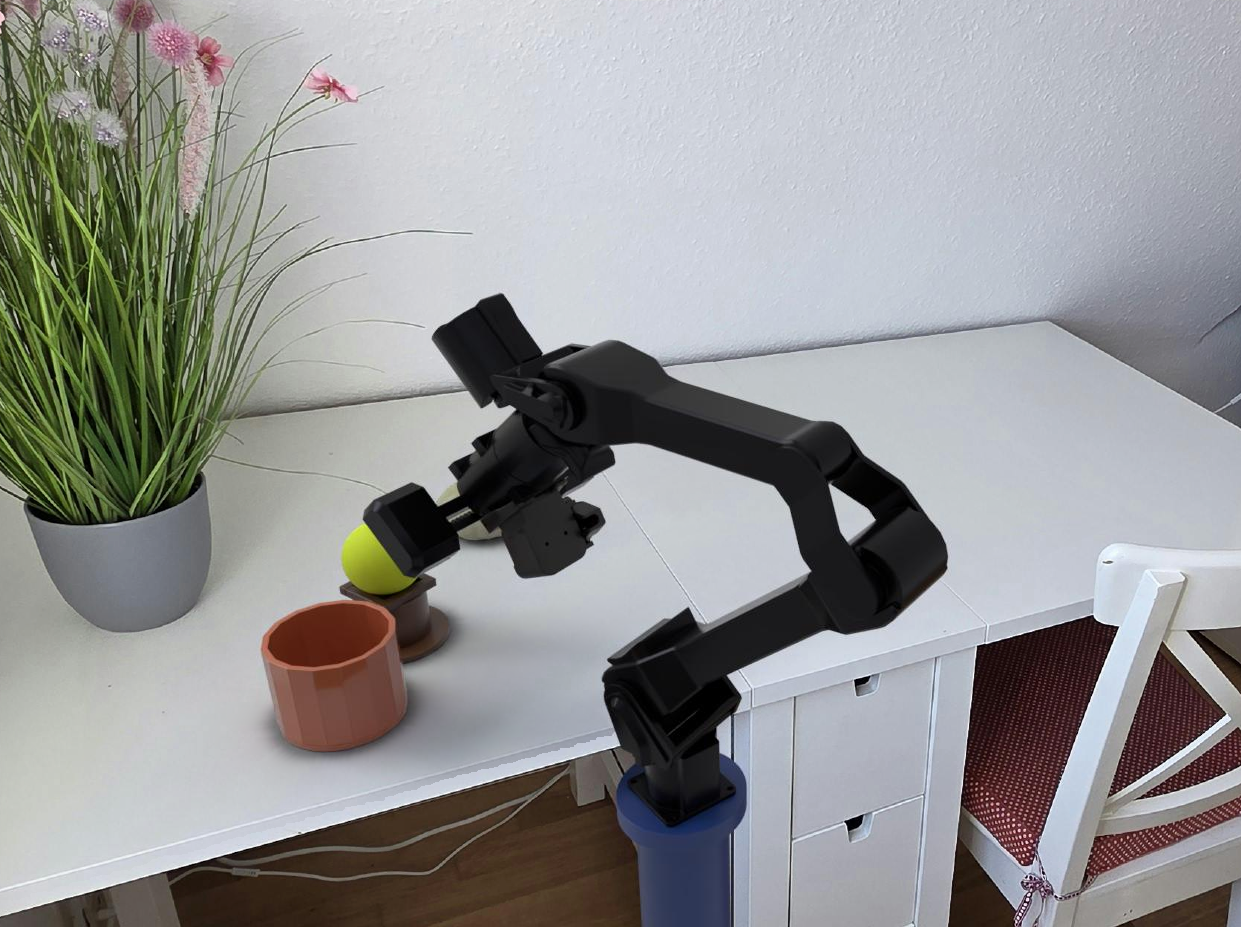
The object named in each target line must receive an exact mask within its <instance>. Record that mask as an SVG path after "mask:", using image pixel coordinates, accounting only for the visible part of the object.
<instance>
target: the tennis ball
mask: <svg viewBox="0 0 1241 927" xmlns="http://www.w3.org/2000/svg"><path fill="white" fill-rule="evenodd" d="M340 556H341V557H340V558H341V566H342V569H343V572H344V574H345V576H346V577H347V579H348V581H351V582H352V583H353V584H354V585H355V586H356V587H358V588H359V589H361V590H363V591H365V592H368V593H371V594H377V595H387V594H393V593H396V592H399V591H401V590H403V589H405V588H407V587H408V586H409V585H411V584H412V583H413V582H414V581H415V580H416V579H417V577H416V578H411V577H407V576H404V575H403V574H402V573H401V571H400V570H399V569H398V567H397V566H396V564H395V563H394V562H393V560H392V559H391V558H390V556H389V555H388V554H387V552H386V551H385V549H384V548H383V547H382V545H381V544H380V543H379V541H378V540H377V539H376V537H375V536H374V534H373V533H372V532H371V530H370V529H369V528H368V526H367V525H366V524H365V523H363V524H361V525H359V526H358V527H357V528H355V529H354V530H352V532H351V533H350V534H349V535H348V536H347V538H346V540H345V541H344V544H343V546H342V549H341V555H340Z"/></svg>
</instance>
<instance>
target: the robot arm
mask: <svg viewBox="0 0 1241 927" xmlns="http://www.w3.org/2000/svg"><path fill="white" fill-rule="evenodd" d="M519 318H520V317H518V315H517V313H516V311H515V309H514V307H513V306H512V304H511V302H510V301H509V300H508V298H507V297H506V295H505V294H504V293H503V292H498V293H496V294H492V295H490V296H487V297H484V298H481V299H479V301H478V302H477V303H476V304H475V305H474V306H472V307H471V308H469V309H467V310H465V311H464V312H461V313H460V314H459V315H457V316H455V317H454V318H453V319H451V320H450V321H448V322H446V323H444V324H441V325H440V326H438V327H437V328H436V330H434V332H433V333H432V334H431V341H432V342H433V344H434V345H435V347H436V348H437V349H438V351H439V352H440V353H441V355H442V357H443V358H444V360H446V362H447V364H448V365H449V366H450V367H451V369H452V371H454V373H455V375H456V377H458V379H459V380H460V382H461V383H462V385H463V386H464V387H465V389H466V390H467V392H468V393H469V394H470V396H471V398H473V400H474V401H475V403H476V404H477V406H478V407H479V408H480V409H481V410H482V409H484V408H486V407H488V406H489V405H490V404H492V403H494V405H495V406H496V408H497V409H503V408H504V409H505V408H507V407H509V406H510V407H512V408H514V411H512V412H511V414H510V415H508V417H506V418H505V419H504V421H502V423H501V424H500V425H499V426H498V427H496V428H494V429H492V430H489V431H487V432H485V433H483V434H481V435H479V436H476V437H475V439H473V441H472V442H471V443H470V444H471V446H472V447H473V449H474V452H471V453H468V454H467V455H465V456H463V457H460V458H458V459H456V460H454V461H452V463H450V464H449V465H448V467H447V469H448V470H449V471H450V473H451V474H452V475H453V477H454V478H455V479H456V482H457V481H458V482H457V489H458V492H459V495H460V496H458V497H456V498H454V499H452V500H450V501H448V502H446V503H444V504H442V505H440V506H437V502H436V501H435V500H434V499H433V497H432V496H431V494H430V493H429V492H428V490H427V489H426V487H425V486H423V485H420V484H418V483H415V482H409V483H406V484H404V485H402V486H400V487H398V488H395V489H394V490H391V491H389V492H387V493H385V494H382V495H381V496H379V497H377V498H374V499H373V500H372V501H371V502H370V503H369V504H368V506H366V507H365V509H364V510H363V515H362V521H363V522H364V524H366V525H367V526H368V528H369V529H370V530H371V532H372V533H373V534H374V536H375V537H376V539H377V540H378V541H379V543H380V544H381V545H382V547H383V548H384V549H385V551H386V552H387V554H388V555H389V556H390V558H391V559H392V560H393V562H394V563H395V564H396V566H397V567H398V569H399V570H400V571H401V573H402V574H403V575H404V576H407V577H411V578H416V577H418V576H420V575H422V574H423V573H425V574H426V573H428V572H429V571H431V570H432V569H434V568H436V567H438V566H440V565H442V564H443V563H445V562H447V561H448V560H450V559H451V558H453V557H454V556H455V555H456V554H458V553H459V552H460V550H461V543H460V537H459V535H458V532H460V531H461V530H463V529H465V528H467V527H469V526H471V525H473V524H475V523H477V522H479V521H481V523H482V524H483V526H484V527H485V528H486V530H487V531H488V533H489V534H490V533H492V532H494V531H496V530H498V529H499V528H500V529H501V535H502V536H501V538H502V541H503V544H504V545H505V547H506V550H507V552H508V554H509V556H510V559H511V561H512V563H513V569H514V572H515V573H516V575H517V576H518V577H519V578H520V579H524V580H528V579H535V578H544V577H550V576H551V577H552V576H555V575H557V574H558V573H560V572H561V571H563V570H565V569H567V568H568V567H570V566H571V565H573V564H575V563H576V562H578V561H580V560H581V559H583V558H584V557H585V555H586V553H587V550H589V549H590V548H591V547H594V545H595V544H594V542H593V540H591V539H592V537H593V536H595V535H597V534H598V533H599V532H600V531H601V529H602V528H603V527H604V526H605V525H606V523H607V521H606V518H605V516H604V514H603V511H602V509H601V507H600V506H596V505H594V504H591V503H589V502H586V501H584V500H581V501H580V500H579V501H576V500H575V499H572V498H571V497H570V496H569V495H571V494H572V493H574V492H576V491H578V490H579V489H581V488H583V487H585V486H586V485H587V484H588V483H589V482H590V481H592V480H593V479H594V478H595V476H598V475H599V474H601V473H603V472H605V471H607V470H608V469H611V468H612V467H614V466H615V465H616V456H615V452H614V450H613V449H612V446H624V445H631V444H632V445H633V444H634V445H635V444H638V445H646V446H650V447H654V448H657V449H660V450H663V451H666V452H669V453H672V454H675V455H679V456H680V457H684V458H687V459H689V460H693V461H696V462H699V463H703V464H705V465H709V466H712V467H715V468H717V469H720V470H724V471H727V472H730V473H732V474H736V475H739V476H742V477H745V478H748V479H750V480H754V481H757V482H760V483H763V484H765V485H769V486H772V487H774V489H775V490H776V491H777V492H778V494H779V495H780V497H781V499H782V500H783V501H784V503H785V504H786V505H787V507H788V508H789V513H790V517H791V520H792V525H793V529H794V533H795V537H796V542H797V545H798V550H799V554H800V557H801V559H802V561H804V564H805V565H806V566H807V567H808V569H809V572H807V573H805V574H802V575H801V576H799V577H797V578H794V579H793V580H791V581H789V582H787V583H785V584H783V585H781V586H779V587H777V588H776V589H773V590H771V591H769V592H768V593H765V594H764V595H762V596H759V597H758V598H756V599H754V600H752V601H750V602H748V603H746V604H744V605H742V606H740V607H738V608H736V609H734V610H732V611H730V612H728V613H726V614H723V616H721V617H718V618H717V619H714V620H712V621H710V622H709V623H703V622H700V621H697V620H696V618H695V616H694V614H693V612H692V609H691V608H690V607H689V606H687V607H685V609H683V610H682V611H680V612H678V613H677V614H676V615H674V616H673V617H672V618H669V617H668V618H667V617H666V618H662V619H661V620H659V621H658V622H656V623H655V624H654V625H652V626H651V627H649V629H647V630H646V631H644V632H642V633H641V634H639V636H637V637H636V638H634V639H633V640H630V642H629V643H626V645H624V646H622V647H621V648H620V649H619V650H617V651H616V652H614V653H612V654H611V655H610V656H609V657H607V658H606V661H607V663H608V664H610V665H611V666H609V667H607V668H606V670H604V671H603V673H602V675H601V682H602V683H603V689H604V691H603V701H604V705H605V708H606V710H607V713H608V716H609V718H610V722H611V725H612V727H613V730H614V732H615V735H616V738H617V740H618V743H619V746H620V748H621V749H622V751H625V752H627V753H628V754H631V755H632V757H633V758H634V764H637V765H639V766H641V767H642V766H643V767H644V772H642V773H640V774H638V775H636V776H634V777H632V778H630V779H629V780H628V782H627V784H628V788H629V789H630V790H631V791H632V792H633V793H634V794H635V795H636V796H637V797H638V798H639V799H640V800H641V801H642V802H643V803H644V804H645V805H646V806H647V807H648V808H649V809H650V810H651V812H652V813H653V814H654V815H655V816H656V817H657V818H658V819H659V820H660V821H661V822H662V823H663V824H664V825H665V826H666V827H669V828H673V827H675V826H677V825H679V824H681V823H683V822H685V821H687V820H689V819H691V818H692V817H694V816H696V815H698V814H700V813H702V812H704V811H706V810H708V809H710V808H711V807H713V806H715V805H717V804H719V803H721V802H723V801H725V800H727V799H728V798H730V797H732V796H734V795H735V794H736V787H735V785H734V784H732V783H731V782H730V781H729V780H728V779H727V778H726V777H725V776H724V775H723V774H722V773H721V772H720V753H721V752H720V740H719V739H718V726H720V725H721V724H722V723H723V722H725V721H726V720H727V719H728V718H729V717H731V716H734V714H736V713H737V711H738V708H739V706H740V704H741V702H742V700H743V696H742V694H741V693H740V691H739V690H738V689H737V687H736V686H735V684H734V683H733V682H732V681H731V680H732V679H730V677H729V675H730V674H733V673H735V672H737V671H740V670H741V669H744V668H746V667H748V666H750V665H752V664H754V663H757V662H759V661H761V660H763V659H766V658H767V657H770V656H772V655H774V654H777V653H779V652H780V651H783V650H785V649H787V648H790V647H791V646H794V645H796V644H799V643H801V642H803V641H805V640H807V639H809V638H811V637H813V636H816V635H818V634H820V633H823V632H826V631H830V632H834V633H836V634H837V633H838V634H840V635H845V636H849V635H853V634H860V633H865V632H869V631H874V630H880V629H883V628H885V627H887V626H889V625H890V624H892V623H893V622H894V621H895V620H896V619H897V618H899V617H900V616H901V615H902V614H903V613H904V612H905V611H906V610H907V609H908V608H909V607H910V606H912V605H913V604H914V603H915V602H916V601H917V600H918V599H919V598H920V597H921V596H923V595H924V593H925V592H927V591H928V590H929V589H930V588H931V587H932V586H934V584H936V583H937V582H938V581H939V580H940V579H941V578H943V576H944V575H945V574H946V573H947V571H948V562H949V553H948V546H947V543H946V541H945V539H944V537H943V534H942V532H941V531H940V530H939V528H938V527H937V526H936V524H935V523H934V522H933V521H932V520H931V519H930V517H929V516H928V515H927V513H926V511H925V510H924V508H923V507H922V506H921V504H920V503H919V501H918V500H917V498H916V497H915V496H914V494H913V493H912V492H911V490H910V489H909V488H908V486H907V485H906V483H904V482H903V481H902V479H899V478H898V477H897V476H896V475H894V474H893V473H891V472H890V471H888V470H887V469H886V468H884V467H883V466H881V465H880V464H878V463H876V462H875V461H874V460H872V459H870V458H869V457H868V456H867V455H865V454H864V453H863V451H862V450H861V448H860V446H858V444H857V443H856V441H855V440H854V438H853V437H852V436H851V434H850V433H849V432H848V431H847V430H846V429H845V428H844V426H842V425H840V424H838V423H837V422H835V421H833V420H812V419H807V418H804V417H802V416H799V415H795V414H791V413H787V412H785V411H782V410H778V409H774V408H771V407H768V406H764V405H761V404H758V403H754V402H751V401H748V400H744V399H741V398H739V397H734V396H731V395H727V394H724V393H721V392H717V391H715V390H711V389H707V388H705V387H701V386H698V385H695V384H692V383H688V382H684V381H681V380H679V379H677V378H675V377H673V376H671V375H669V374H668V373H667V371H666V370H665V368H664V367H663V365H662V364H661V363H660V360H659V361H658V359H656V358H655V357H654V356H652V355H650V354H648V353H646V352H644V351H642V350H640V349H638V348H636V347H634V346H632V345H630V344H628V343H626V342H624V341H621V340H617V339H606V340H603V341H601V342H598V343H596V344H592V345H586V344H580V343H579V344H578V343H573V342H572V343H569V344H567V345H564V346H561V347H559V348H556V349H554V350H551V351H549V352H547V353H544V352H543V351H542V349H541V347H540V346H539V345H538V343H537V342H536V341H535V339H534V338H533V337H532V335H531V334H530V333H529V331H528V330H527V328H526V327H525V326H524V324H523V323H522V321H521V319H519ZM830 485H831V486H832V487H833V488H835V489H837V490H839V491H840V492H841V493H843V494H844V495H846V496H847V497H849V498H850V499H852V500H853V501H855V502H856V503H858V504H859V505H861V506H863V507H864V508H866V509H867V510H868V511H869V513H870V515H872V517H873V518H874V520H873V521H872V522H871V523H869V524H868V525H867V526H866V527H864V528H863V529H862V530H861V531H859V532H858V533H857V534H856V535H854V536H853V537H852V538H850V539H849V540H848V541H847V539H846V538H845V536H844V535H843V533H842V532H841V529H840V524H839V520H838V516H837V513H836V509H835V505H834V500H833V496H832V493H831V489H830ZM469 509H471V511H468V512H467V514H466V513H464V514H463V516H462V515H460V516H459V518H458V517H457V518H455V520H454V519H453V520H451V522H450V521H448V520H449V519H451V518H453V517H455V516H457V515H459V514H461V513H463V512H465V511H467V510H469ZM633 783H635V784H633ZM729 790H732V791H729ZM669 821H672V822H669Z"/></svg>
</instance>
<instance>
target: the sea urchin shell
mask: <svg viewBox="0 0 1241 927" xmlns="http://www.w3.org/2000/svg"><path fill="white" fill-rule="evenodd" d="M457 482H458V481H457V480H456V481H455V482H454V483H452V484H450V485H449V486H448V487H446V489H445V490H444V491H443V492H442V494H441V495H440V496H439V497H438V499H437V500H436V504H437V506H440V505H442V504H444V503H446V502H448V501H450V500H452V499H454V498H456V497H458V496H460V495H459V492H458V489H457ZM468 511H471V509H469V510H467V511H465V512H463V513H461V514H459V515H457V516H455V517H453V518H451V519H449V520H448V521H450V522H451V520H453V519H454V520H455V518H457V517H458V518H459V516H460V515H462V516H463V514H464V513H466V514H467V512H468ZM458 535H459V539H460V538H462V539H465V540H467V541H480V540H491V539H494V538H498V537H499V538H500V537H501V538H502V535H501V529H500V528H499V529H498V530H496V531H494V532H492V533H490V534H489V533H488V531H487V530H486V528H485V527H484V526H483V524H482V523H481V521H479V522H477V523H475V524H473V525H471V526H469V527H467V528H465V529H463V530H461V531H460V532H458Z"/></svg>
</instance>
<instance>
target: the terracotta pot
mask: <svg viewBox="0 0 1241 927" xmlns="http://www.w3.org/2000/svg"><path fill="white" fill-rule="evenodd" d="M260 654H261V658H262V659H261V660H262V663H263V668H264V671H265V676H266V680H267V684H268V688H269V693H270V698H271V702H272V706H273V710H274V715H275V720H276V724H277V726H278V727H279V730H280V733H281V735H282V737H283V738H284V739H285V741H287V742H288V743H289V744H291V745H293V746H295V747H296V748H299V749H303V750H307V751H311V752H338V751H344V750H345V751H346V750H350V749H354V748H357V747H360V746H363V745H366V744H369V743H371V742H373V741H375V740H377V739H380V738H381V737H383V736H385V735H386V734H388V733H389V732H390V731H392V730H393V729H394V728H396V727H397V725H398V724H399V723H400V722H401V721H402V719H403V718H404V717H405V715H406V713H407V710H408V707H409V699H408V687H407V681H406V676H405V670H404V669H405V668H404V663H402V657H401V651H400V645H399V639H398V633H397V626H396V620H395V618H394V617H393V616H392V615H391V613H390V612H389V611H388V610H387V609H386V608H384V607H382V606H379V605H376V604H373V603H371V602H368V601H355V600H352V599H340V600H331V601H324V602H318V603H315V604H312V605H309V606H306V607H303V608H299V609H296V610H294V611H293V612H291V613H289V614H287V615H285V616H284V617H282V618H280V619H279V620H277V621H275V622H274V623H273V624H272V625H271V627H270V628H268V630H267V631H266V632H265V633H264V634H263V635H262V639H261V645H260Z"/></svg>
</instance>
